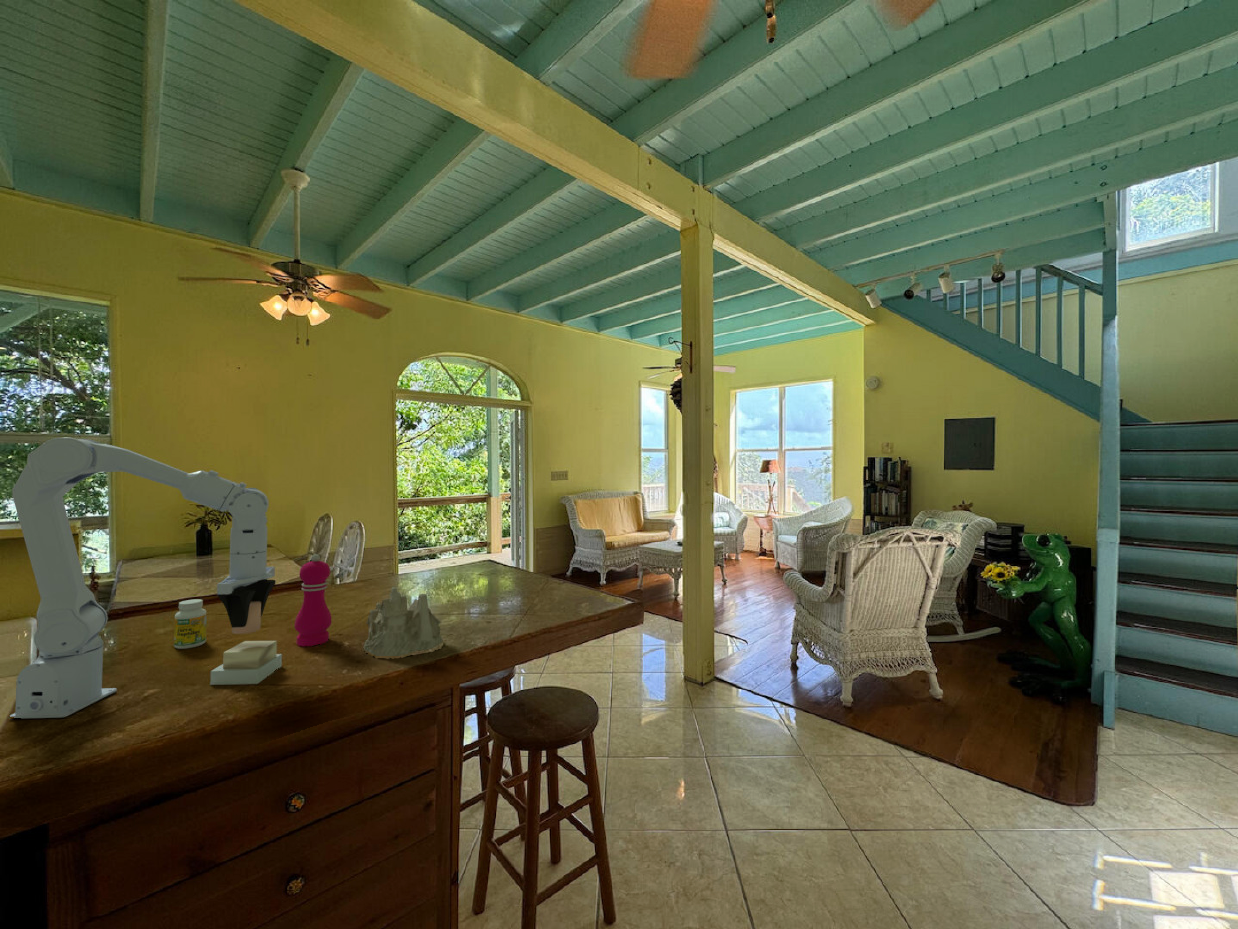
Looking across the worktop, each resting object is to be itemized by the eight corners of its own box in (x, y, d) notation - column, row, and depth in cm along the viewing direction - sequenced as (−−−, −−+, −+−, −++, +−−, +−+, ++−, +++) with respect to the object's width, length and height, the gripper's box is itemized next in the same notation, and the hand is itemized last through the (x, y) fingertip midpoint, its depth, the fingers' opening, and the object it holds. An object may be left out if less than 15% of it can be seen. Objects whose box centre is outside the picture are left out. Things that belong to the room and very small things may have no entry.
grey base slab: (257, 686, 92) (257, 670, 92) (210, 687, 91) (210, 671, 91) (281, 669, 100) (281, 654, 100) (238, 669, 99) (238, 654, 99)
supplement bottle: (207, 639, 114) (208, 597, 114) (204, 646, 109) (205, 602, 109) (176, 643, 111) (177, 600, 111) (171, 651, 106) (172, 606, 106)
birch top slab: (257, 668, 93) (257, 652, 93) (223, 668, 92) (223, 652, 92) (276, 656, 99) (276, 640, 99) (244, 656, 98) (244, 641, 98)
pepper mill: (288, 648, 110) (291, 557, 110) (300, 637, 117) (303, 551, 117) (325, 646, 111) (328, 556, 112) (334, 635, 118) (337, 551, 119)
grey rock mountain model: (447, 651, 111) (445, 582, 111) (364, 666, 103) (363, 592, 103) (436, 634, 124) (434, 573, 125) (362, 646, 116) (360, 581, 117)
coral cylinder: (251, 633, 94) (252, 607, 94) (226, 634, 94) (226, 607, 94) (265, 626, 98) (266, 600, 98) (241, 626, 98) (242, 601, 98)
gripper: (247, 559, 89) (245, 635, 89) (291, 545, 104) (289, 611, 104) (204, 558, 88) (202, 635, 88) (254, 545, 103) (252, 611, 103)
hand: (246, 622), depth 96 cm, fingers closed on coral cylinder, 4 cm apart
